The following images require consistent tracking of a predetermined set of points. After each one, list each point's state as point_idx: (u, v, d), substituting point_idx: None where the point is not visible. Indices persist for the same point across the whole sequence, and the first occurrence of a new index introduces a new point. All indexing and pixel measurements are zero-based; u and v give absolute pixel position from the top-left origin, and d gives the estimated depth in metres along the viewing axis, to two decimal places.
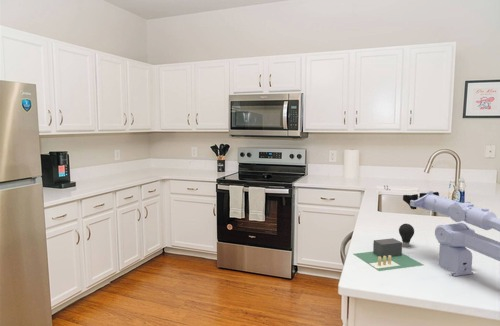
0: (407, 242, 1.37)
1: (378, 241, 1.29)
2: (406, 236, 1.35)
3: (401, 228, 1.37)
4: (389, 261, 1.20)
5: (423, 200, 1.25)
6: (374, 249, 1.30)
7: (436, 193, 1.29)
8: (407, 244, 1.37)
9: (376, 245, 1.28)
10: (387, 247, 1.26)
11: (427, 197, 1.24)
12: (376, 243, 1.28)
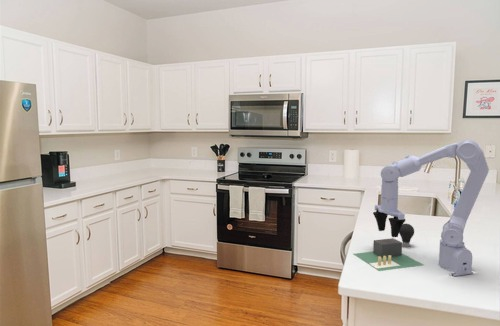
0: (407, 242, 1.37)
1: (378, 241, 1.29)
2: (406, 236, 1.35)
3: (401, 228, 1.37)
4: (389, 261, 1.20)
5: (392, 212, 1.24)
6: (374, 249, 1.30)
7: (375, 212, 1.32)
8: (407, 244, 1.37)
9: (376, 245, 1.28)
10: (387, 247, 1.26)
11: (387, 209, 1.25)
12: (376, 243, 1.28)
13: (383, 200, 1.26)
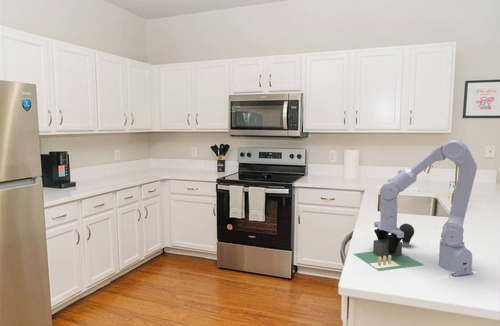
0: (407, 242, 1.37)
1: (378, 241, 1.29)
2: (406, 236, 1.35)
3: (401, 228, 1.37)
4: (389, 261, 1.20)
5: (391, 229, 1.25)
6: (374, 249, 1.30)
7: (376, 230, 1.31)
8: (407, 244, 1.37)
9: (376, 245, 1.28)
10: (387, 247, 1.26)
11: (386, 227, 1.25)
12: (376, 243, 1.28)
13: (382, 218, 1.26)
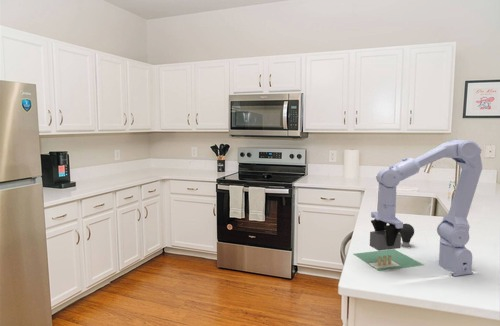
0: (407, 242, 1.37)
1: (375, 232, 1.18)
2: (406, 236, 1.35)
3: None
4: (389, 261, 1.20)
5: (389, 219, 1.15)
6: (370, 241, 1.19)
7: (373, 220, 1.21)
8: (407, 244, 1.37)
9: (373, 237, 1.18)
10: (385, 239, 1.16)
11: (384, 217, 1.15)
12: (373, 234, 1.18)
13: (380, 207, 1.16)
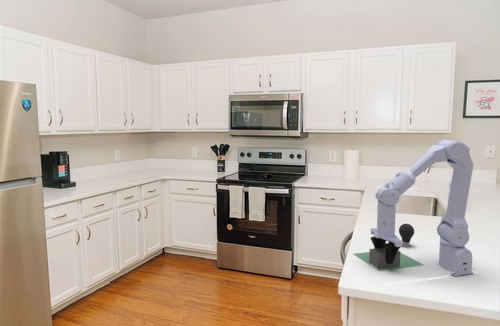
0: (407, 242, 1.37)
1: (374, 250, 1.19)
2: (406, 236, 1.35)
3: (401, 228, 1.37)
4: None
5: (388, 237, 1.15)
6: (370, 258, 1.20)
7: (372, 238, 1.22)
8: (407, 244, 1.37)
9: (372, 254, 1.19)
10: (384, 257, 1.16)
11: (384, 234, 1.16)
12: (372, 252, 1.19)
13: (379, 225, 1.17)
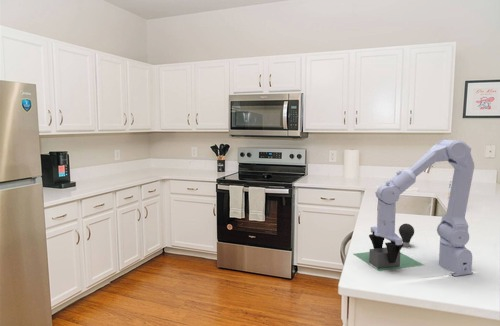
0: (407, 242, 1.37)
1: (374, 250, 1.19)
2: (406, 236, 1.35)
3: (401, 228, 1.37)
4: None
5: (389, 236, 1.15)
6: (370, 259, 1.20)
7: (371, 235, 1.23)
8: (407, 244, 1.37)
9: (372, 254, 1.19)
10: (384, 257, 1.16)
11: (384, 233, 1.16)
12: (372, 252, 1.19)
13: (379, 223, 1.17)
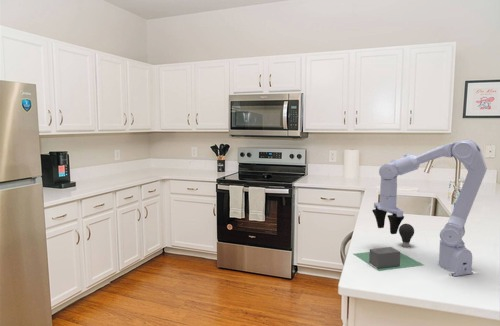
0: (407, 242, 1.37)
1: (374, 250, 1.19)
2: (406, 236, 1.35)
3: (401, 228, 1.37)
4: None
5: (390, 209, 1.26)
6: (370, 259, 1.20)
7: (374, 210, 1.34)
8: (407, 244, 1.37)
9: (372, 254, 1.19)
10: (384, 257, 1.16)
11: (386, 206, 1.27)
12: (372, 252, 1.19)
13: (382, 198, 1.28)
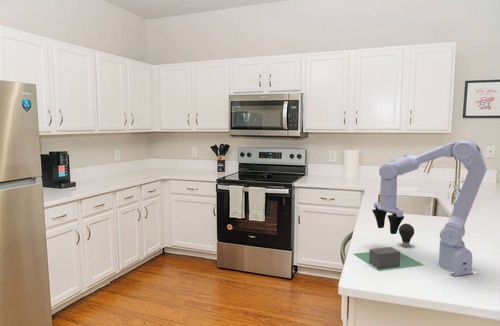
0: (407, 242, 1.37)
1: (374, 250, 1.19)
2: (406, 236, 1.35)
3: (401, 228, 1.37)
4: None
5: (390, 209, 1.26)
6: (370, 259, 1.20)
7: (374, 210, 1.34)
8: (407, 244, 1.37)
9: (372, 254, 1.19)
10: (384, 257, 1.16)
11: (386, 206, 1.27)
12: (372, 252, 1.19)
13: (382, 198, 1.28)
